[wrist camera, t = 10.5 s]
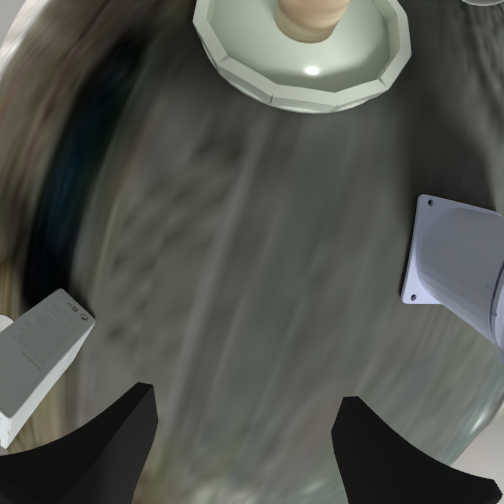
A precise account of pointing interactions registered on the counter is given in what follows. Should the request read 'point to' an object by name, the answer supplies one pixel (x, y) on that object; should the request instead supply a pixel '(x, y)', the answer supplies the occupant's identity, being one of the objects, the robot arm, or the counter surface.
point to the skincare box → (37, 356)
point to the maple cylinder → (309, 18)
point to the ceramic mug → (482, 2)
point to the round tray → (305, 54)
